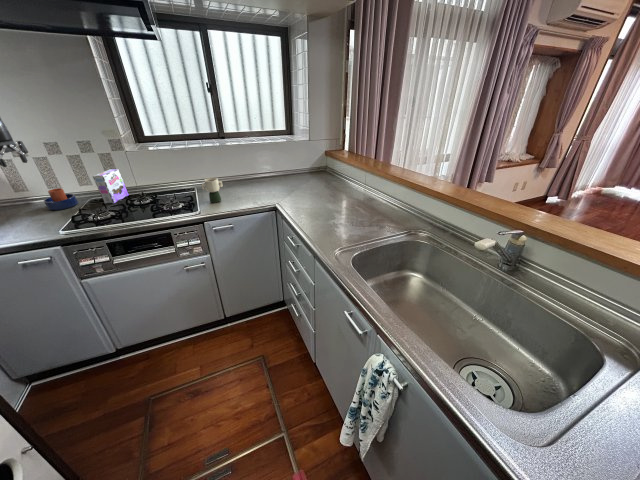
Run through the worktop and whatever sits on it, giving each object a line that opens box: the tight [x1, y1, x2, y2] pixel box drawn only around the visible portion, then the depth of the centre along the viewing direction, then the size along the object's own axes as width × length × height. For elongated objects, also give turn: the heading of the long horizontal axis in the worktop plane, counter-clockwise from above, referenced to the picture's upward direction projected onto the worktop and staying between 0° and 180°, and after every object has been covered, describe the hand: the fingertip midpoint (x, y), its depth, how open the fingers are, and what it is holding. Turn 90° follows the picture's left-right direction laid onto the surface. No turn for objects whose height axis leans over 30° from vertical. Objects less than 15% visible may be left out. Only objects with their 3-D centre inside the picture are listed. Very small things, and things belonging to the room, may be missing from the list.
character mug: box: [201, 177, 223, 203], centre depth 151 cm, size 11×7×13 cm, turn 116°
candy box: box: [92, 168, 130, 204], centre depth 155 cm, size 14×6×16 cm, turn 179°
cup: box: [47, 187, 68, 202], centre depth 149 cm, size 6×6×9 cm
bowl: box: [43, 193, 79, 211], centre depth 150 cm, size 13×13×5 cm
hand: (15, 164), depth 134 cm, fingers open, 8 cm apart
